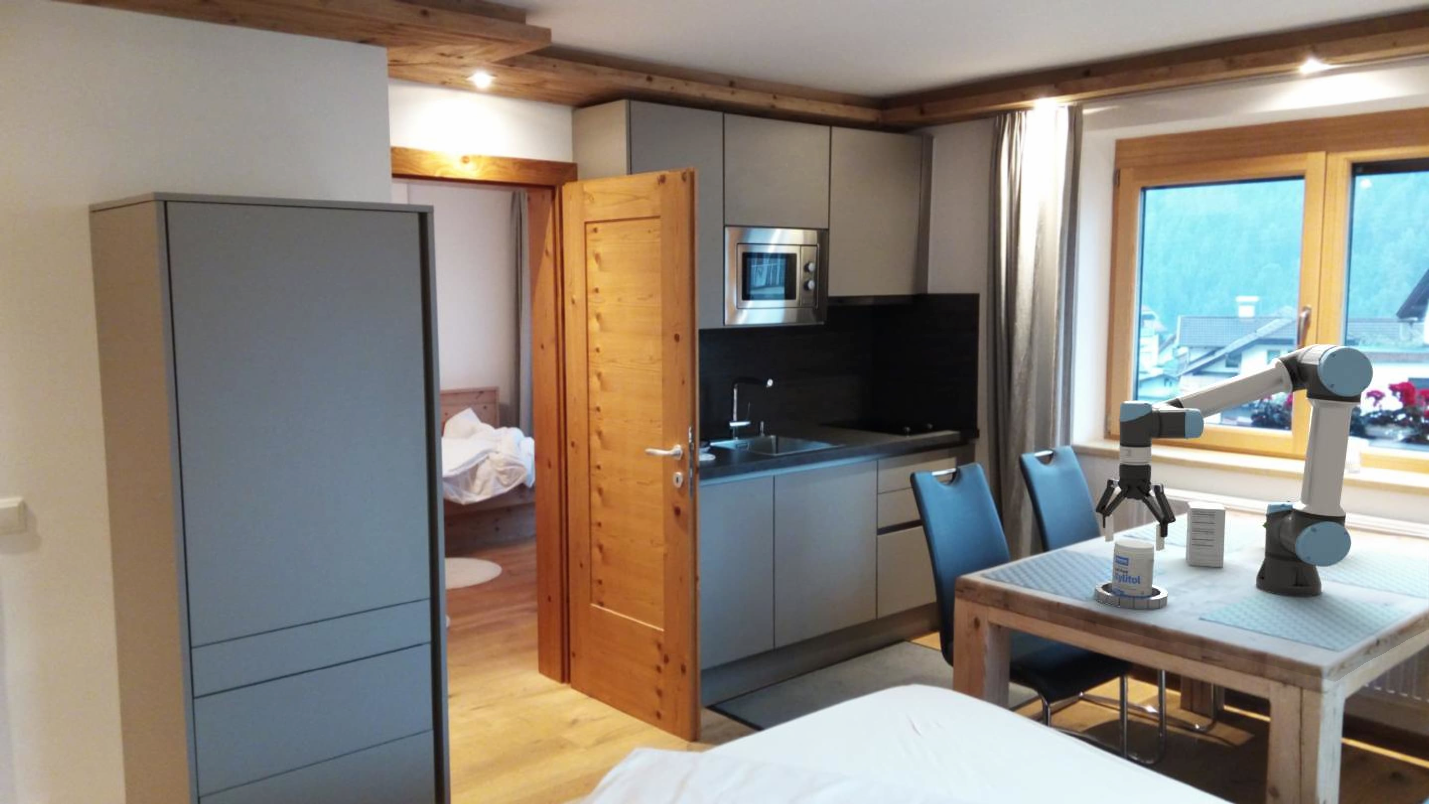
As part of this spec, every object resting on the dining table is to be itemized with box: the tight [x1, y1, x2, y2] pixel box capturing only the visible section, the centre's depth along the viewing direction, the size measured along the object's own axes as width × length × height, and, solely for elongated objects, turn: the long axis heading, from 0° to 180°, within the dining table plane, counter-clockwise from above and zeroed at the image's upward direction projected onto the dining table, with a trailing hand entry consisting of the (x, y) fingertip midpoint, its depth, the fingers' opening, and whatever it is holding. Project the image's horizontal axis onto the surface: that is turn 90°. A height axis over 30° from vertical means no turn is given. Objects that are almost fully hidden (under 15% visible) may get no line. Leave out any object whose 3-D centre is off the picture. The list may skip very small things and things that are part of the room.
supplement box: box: [1185, 501, 1226, 568], centre depth 303 cm, size 10×9×17 cm
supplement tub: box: [1111, 538, 1155, 598], centre depth 267 cm, size 10×10×15 cm
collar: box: [1094, 580, 1169, 610], centre depth 268 cm, size 17×17×2 cm
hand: (1134, 545), depth 267 cm, fingers open, 13 cm apart
